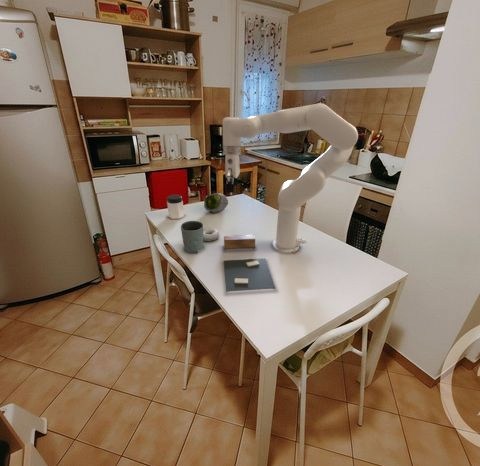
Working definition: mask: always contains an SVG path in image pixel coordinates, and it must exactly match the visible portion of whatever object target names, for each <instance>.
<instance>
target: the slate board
mask: <svg viewBox="0 0 480 466" xmlns="http://www.w3.org/2000/svg"><path fill="white" fill-rule="evenodd" d="M252 261H258V262H259V265H256V266H251V267H248V266H247V264H246V263H247V262H252ZM223 269H224V282H225V290H226V292H243V291H256V290H258V291H259V290H272V289H276V286H275V283H274V279H273V277H272V274H271V271H270V269H269V266H268V262H267V259H266V258H248V259H246V258H245V259H228V260H227V259H226V260H225V259H224V260H223ZM235 278H241V279H248V284H235Z"/></svg>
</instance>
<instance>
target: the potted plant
mask: <svg viewBox="0 0 480 466" xmlns="http://www.w3.org/2000/svg"><path fill="white" fill-rule="evenodd" d="M228 205H229V200H228V197H227V196H225V194H223V193H221V192H219V193H217V192H216V193H215V192H214V193H211V194H207V195H206V196H205V197H204V201H203V208H204V209H205V210H206V211H209V212H212V213H213V214H217V213H219V212H223V211H224V210H225V209H226V208H227V206H228Z"/></svg>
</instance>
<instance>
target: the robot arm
mask: <svg viewBox="0 0 480 466" xmlns="http://www.w3.org/2000/svg"><path fill="white" fill-rule="evenodd" d="M310 130H312V131H313V132H314V133H315V134H317V135H318V137H320V138H321V139H323V140H324V141H326V142H327V143H329V144H330V146H329V147H328V148H327V150H325V151H324V152H323V153H322V154H321V155H320V156H319V157H317V158H316V159H315V160H314V161H312V162H311V163H310V164H308V165H306V166H305V167H304V168H303V169H302V171H301V172H300V176H299V177H298V178H296V179H288V180H287V181H285V182H283V184H281V186H280V189H279V191H278V192H279V193H278V196H277V204H278V213H277V214H278V215H277V223H276V233H275V234H276V236H275V239H274V240H273V241H272V242H271V244H272V246H273V247H274V248H275V249H276V250H279V251H281V252H290V253H295V252H297V251H298V250H299V249H300V245H303V244H305V245H306V244H307V242H308V240H307V239H303V237H298V232H299V225H300V218H301V217H300V216H301V209H302V206H303V205H305V204H307V202H309V201H310V200H312V199H313V198H314V197H316V196H317V195H318V194H320V193H321V191H322V190H323V189H324V187H325V185H326V180H327V179H328V178H329V177H331V176H332V175H333V174H335V172H337V171H338V170H339V169H341V168H342V167H343V166H344V165H345V164H346V163H347V162H348V161H349V159H350V157H351V155H352V153H353V149H354V146H355V145H356V144H357V142H358V140H359V132H358V129H357V128H356V126H354V125H352V123H350V122H348V121H347V120H345V118H343V117H341V115H339V114H338V113H336V112H335V111H334V110H333V109H332V108H330V107H329V106H328V105H327V104H325V103H320V102H319V103H313V104H307V105H302V106H297V107H291V108H286V109H285V108H284V109H281V110H278V111H273V112H268V113H264V114H258V115H257V114H256V115H252V116H249V117H243V118H239V117H237V116H234V117H233V116H226V117H224V118H222V154H224V155H225V156H224V157H225V159H224V161H225V163H224V170H225V171H224V172H225V178H226V184H225V185H226V187H225V188H226V189H225V190H226V193H229V194H233V193H235V187H237V186H238V177H239V176H240V173H241V169H240V155H241V154H242V138H243V139H253V138H255V137H257V136H258V135H265V134H271V133H281V134H292V133H299V132H304V131H310Z"/></svg>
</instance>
